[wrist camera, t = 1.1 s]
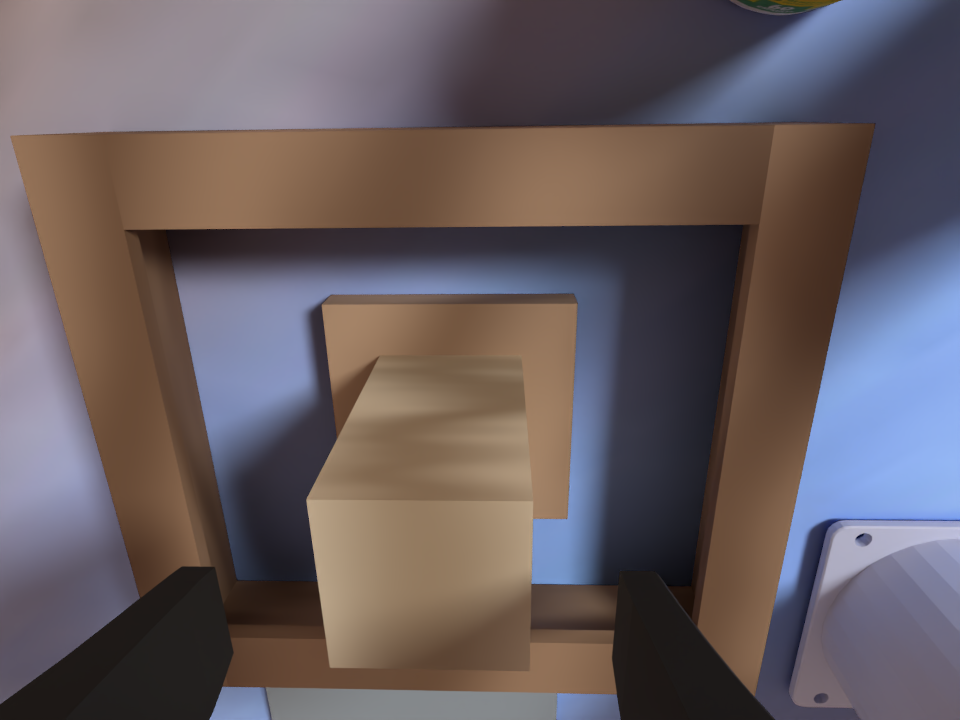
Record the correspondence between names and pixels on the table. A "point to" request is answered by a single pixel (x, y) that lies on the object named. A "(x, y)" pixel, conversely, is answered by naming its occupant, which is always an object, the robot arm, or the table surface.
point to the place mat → (408, 705)
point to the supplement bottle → (782, 5)
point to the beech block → (428, 519)
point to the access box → (451, 340)
